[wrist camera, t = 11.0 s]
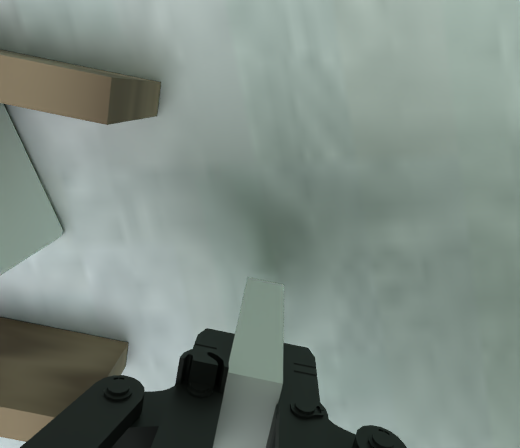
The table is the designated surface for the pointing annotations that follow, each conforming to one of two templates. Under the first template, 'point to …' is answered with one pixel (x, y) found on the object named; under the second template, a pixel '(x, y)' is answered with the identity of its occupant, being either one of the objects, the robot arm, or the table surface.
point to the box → (38, 336)
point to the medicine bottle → (21, 202)
